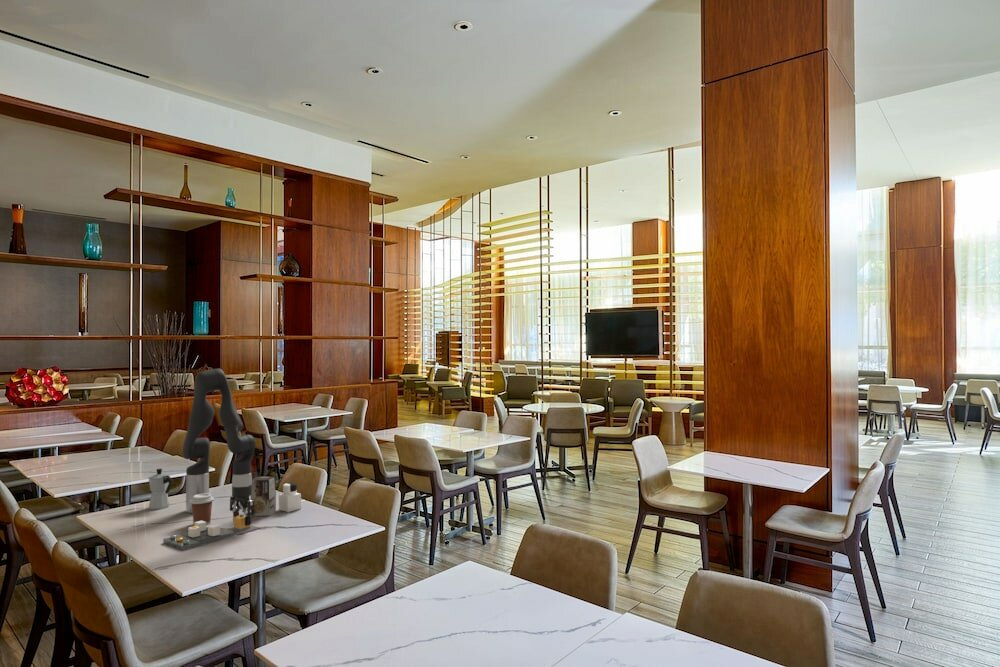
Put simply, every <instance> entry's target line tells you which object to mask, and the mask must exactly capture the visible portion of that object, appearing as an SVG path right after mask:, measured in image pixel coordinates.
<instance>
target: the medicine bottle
mask: <svg viewBox="0 0 1000 667" xmlns="http://www.w3.org/2000/svg"><path fill="white" fill-rule="evenodd" d="M297 486H298V484H297V483H295V482H286V483H284V484H283V485H282V493H280V494H278V510H279V511H282V512H285V513H290V512H293V511H298V510H300V509H301V508H302V493H300V492H298V487H297Z"/></svg>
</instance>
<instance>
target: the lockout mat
mask: <svg viewBox="0 0 1000 667" xmlns="http://www.w3.org/2000/svg"><path fill="white" fill-rule="evenodd" d="M226 529H227V530H230V531H233V532H234V536H239V535H243V534H246V533H250V532H252V531H253V532H254V531H256V530H260V529H261V527H260V526H256V525H253V524H251V525H250V528H249V529H246V530H242V531H238V530H235V529H234V526H232V527H228V528H226Z"/></svg>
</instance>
